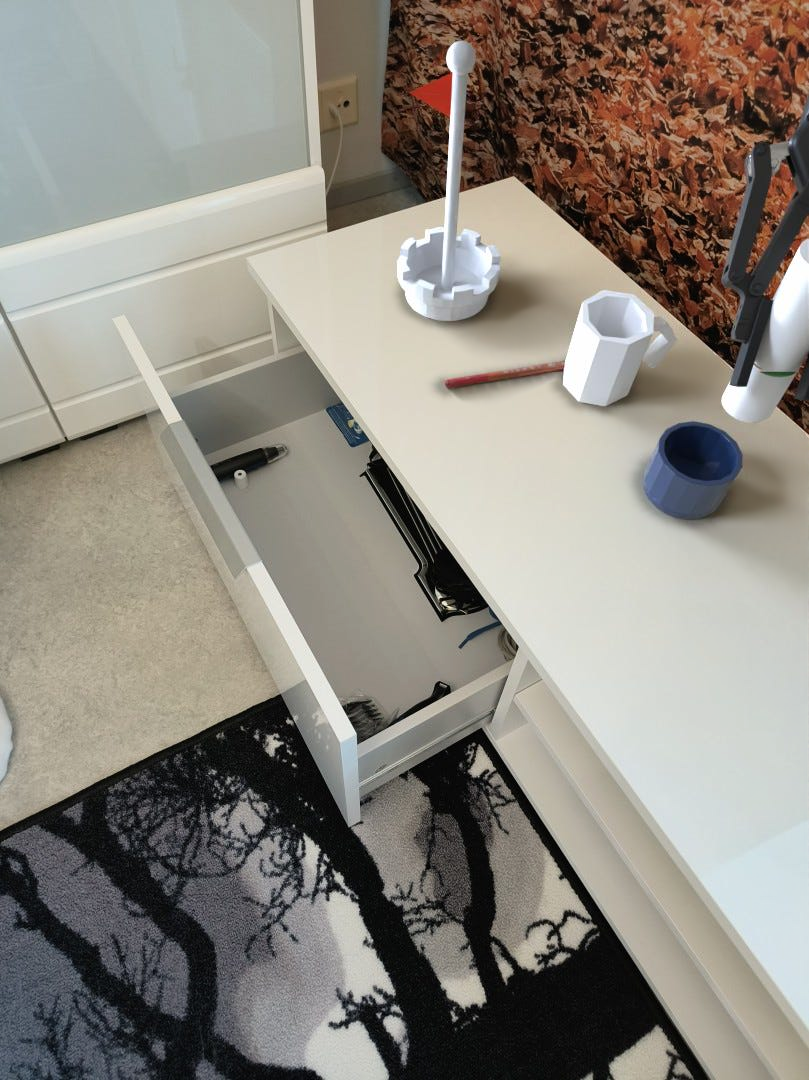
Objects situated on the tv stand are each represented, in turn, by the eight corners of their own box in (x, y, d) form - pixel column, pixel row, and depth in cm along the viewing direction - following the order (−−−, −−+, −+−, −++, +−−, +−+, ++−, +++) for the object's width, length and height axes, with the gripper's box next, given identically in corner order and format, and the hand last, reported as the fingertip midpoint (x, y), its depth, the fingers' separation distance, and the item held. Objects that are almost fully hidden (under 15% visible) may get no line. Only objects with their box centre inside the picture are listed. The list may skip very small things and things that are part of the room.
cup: (734, 481, 81) (756, 446, 76) (701, 532, 77) (722, 499, 72) (663, 446, 84) (680, 409, 79) (629, 494, 80) (644, 458, 75)
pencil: (446, 390, 88) (446, 384, 88) (443, 383, 89) (444, 377, 88) (596, 366, 91) (598, 360, 90) (593, 360, 91) (595, 354, 90)
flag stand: (499, 266, 101) (531, 16, 76) (492, 331, 94) (525, 79, 69) (405, 257, 102) (405, 8, 77) (390, 321, 95) (386, 69, 70)
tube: (712, 404, 64) (787, 254, 52) (738, 379, 66) (818, 228, 53) (755, 430, 63) (844, 283, 50) (781, 404, 64) (874, 255, 52)
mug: (573, 410, 87) (593, 348, 78) (552, 357, 91) (569, 293, 82) (669, 397, 88) (700, 335, 79) (644, 346, 92) (670, 282, 84)
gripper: (977, 104, 55) (868, 415, 60) (737, 70, 58) (652, 371, 63) (1040, 60, 48) (910, 418, 53) (762, 23, 50) (664, 367, 56)
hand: (770, 392), depth 58 cm, fingers closed on tube, 4 cm apart
